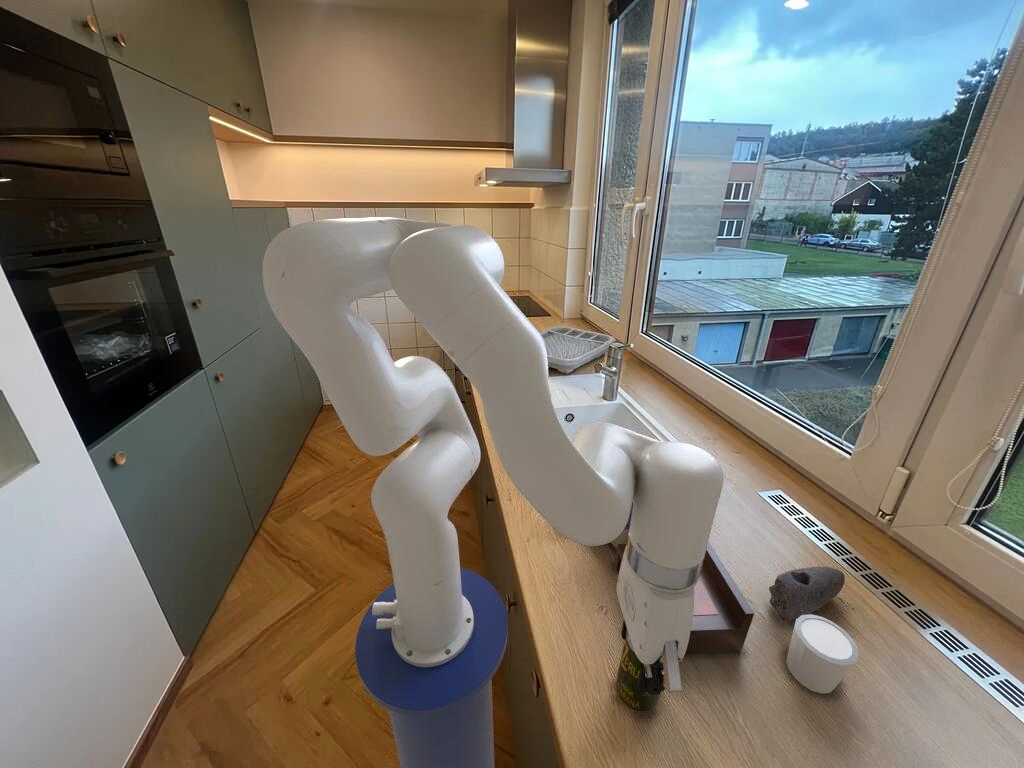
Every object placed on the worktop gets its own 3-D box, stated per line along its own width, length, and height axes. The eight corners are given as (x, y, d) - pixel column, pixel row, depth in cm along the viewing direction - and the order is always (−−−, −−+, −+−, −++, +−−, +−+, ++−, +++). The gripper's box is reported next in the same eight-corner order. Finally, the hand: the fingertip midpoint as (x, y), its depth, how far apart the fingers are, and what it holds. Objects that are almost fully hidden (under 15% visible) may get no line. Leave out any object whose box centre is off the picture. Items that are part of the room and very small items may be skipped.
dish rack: (504, 362, 166) (504, 343, 162) (556, 340, 191) (557, 324, 188) (570, 382, 147) (572, 361, 144) (618, 355, 172) (620, 337, 169)
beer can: (631, 661, 57) (644, 604, 52) (665, 694, 54) (683, 637, 48) (606, 687, 54) (618, 631, 49) (641, 725, 50) (657, 668, 45)
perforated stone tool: (821, 579, 70) (834, 548, 67) (852, 605, 65) (868, 573, 63) (752, 603, 66) (763, 571, 63) (781, 633, 61) (794, 600, 58)
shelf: (645, 656, 58) (652, 617, 55) (614, 564, 73) (619, 530, 70) (741, 651, 59) (754, 613, 55) (692, 562, 73) (700, 527, 70)
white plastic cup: (779, 638, 60) (792, 605, 58) (836, 660, 58) (853, 627, 55) (782, 682, 55) (797, 648, 52) (845, 709, 52) (865, 675, 49)
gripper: (607, 500, 51) (595, 601, 58) (658, 632, 35) (632, 747, 43) (666, 499, 51) (647, 599, 59) (742, 629, 36) (703, 744, 43)
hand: (641, 660), depth 51 cm, fingers closed on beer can, 5 cm apart
